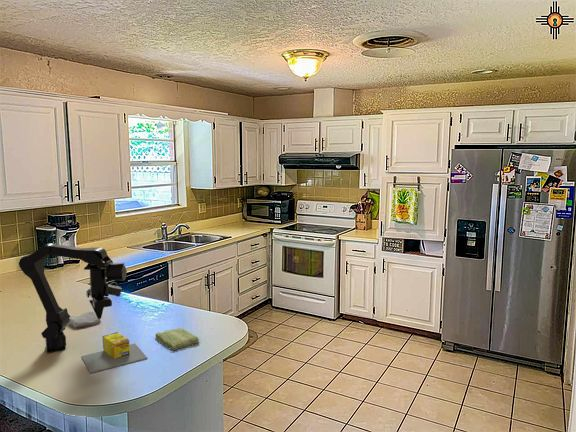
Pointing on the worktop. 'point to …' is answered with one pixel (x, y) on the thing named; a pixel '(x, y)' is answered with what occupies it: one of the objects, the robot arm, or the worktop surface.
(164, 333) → the washcloth
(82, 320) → the stone block
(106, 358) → the grey mat
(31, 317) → the worktop surface
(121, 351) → the supplement box
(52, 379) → the worktop surface
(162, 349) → the worktop surface
